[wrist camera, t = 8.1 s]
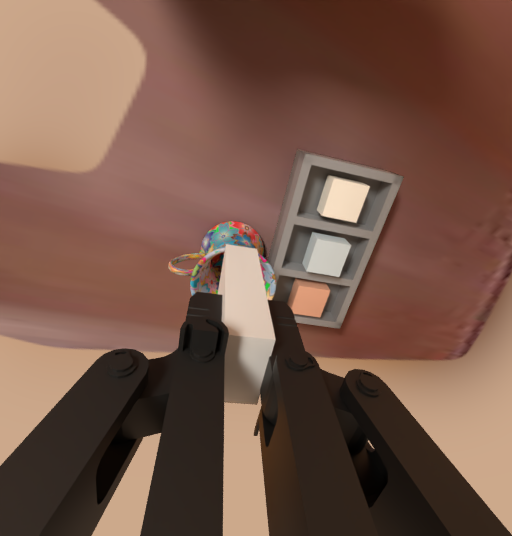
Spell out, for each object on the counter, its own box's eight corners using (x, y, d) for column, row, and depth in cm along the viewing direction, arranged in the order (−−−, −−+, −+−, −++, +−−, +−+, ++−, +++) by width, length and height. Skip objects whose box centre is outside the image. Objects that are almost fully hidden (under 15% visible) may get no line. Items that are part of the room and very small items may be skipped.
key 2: (327, 174, 36) (334, 178, 34) (361, 182, 37) (370, 186, 35) (316, 210, 38) (321, 215, 36) (349, 216, 39) (356, 222, 37)
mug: (272, 223, 42) (286, 256, 32) (257, 282, 45) (265, 327, 36) (182, 205, 40) (168, 235, 30) (174, 269, 43) (160, 312, 34)
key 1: (295, 276, 42) (299, 285, 40) (325, 281, 43) (330, 290, 41) (287, 303, 44) (290, 313, 42) (315, 307, 45) (320, 317, 43)
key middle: (312, 232, 39) (317, 239, 37) (344, 238, 39) (351, 245, 37) (302, 263, 41) (306, 271, 38) (333, 268, 41) (339, 277, 39)
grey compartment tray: (297, 148, 37) (305, 153, 33) (386, 170, 40) (403, 176, 36) (256, 299, 47) (259, 317, 43) (330, 310, 49) (339, 328, 45)
